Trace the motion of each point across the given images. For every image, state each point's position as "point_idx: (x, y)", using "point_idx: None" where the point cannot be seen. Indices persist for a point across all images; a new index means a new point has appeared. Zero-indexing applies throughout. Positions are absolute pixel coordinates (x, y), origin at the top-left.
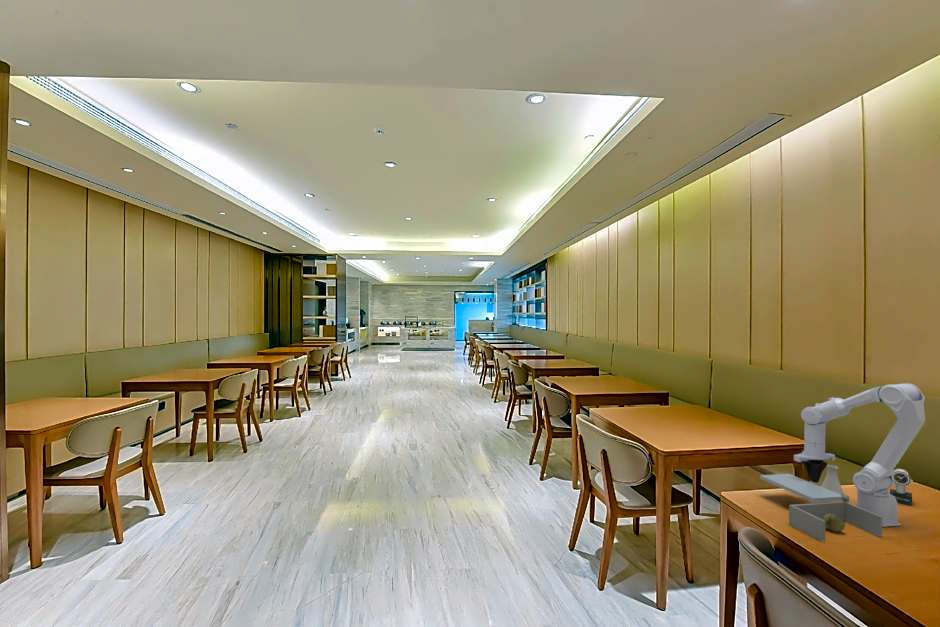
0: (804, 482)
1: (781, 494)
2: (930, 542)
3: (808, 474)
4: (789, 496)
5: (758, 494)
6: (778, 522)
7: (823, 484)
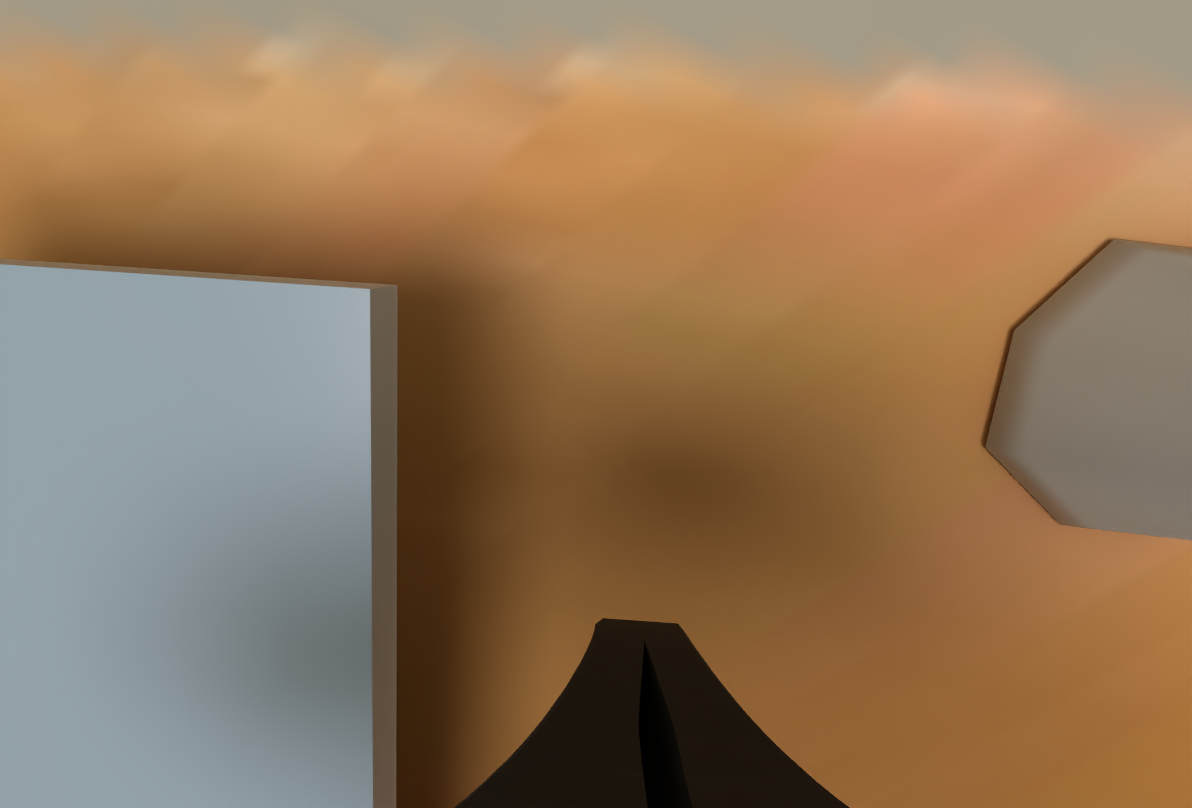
0: (240, 799)
1: (378, 241)
2: None
3: (574, 681)
4: (433, 328)
5: (26, 169)
6: None
7: (1161, 355)
